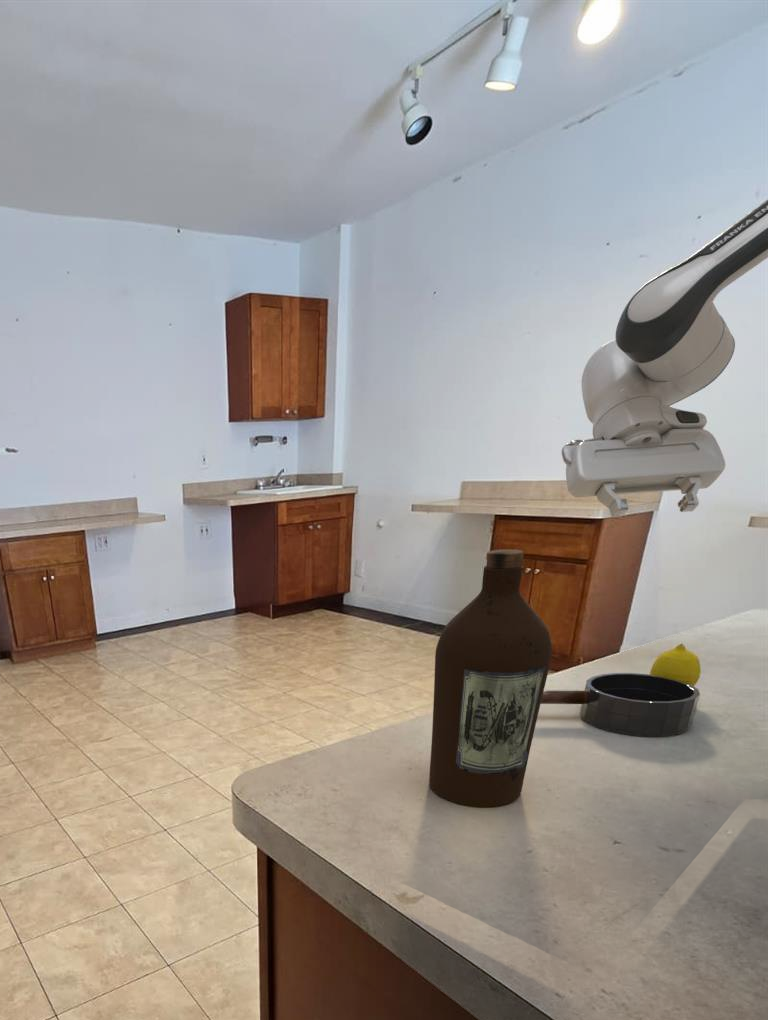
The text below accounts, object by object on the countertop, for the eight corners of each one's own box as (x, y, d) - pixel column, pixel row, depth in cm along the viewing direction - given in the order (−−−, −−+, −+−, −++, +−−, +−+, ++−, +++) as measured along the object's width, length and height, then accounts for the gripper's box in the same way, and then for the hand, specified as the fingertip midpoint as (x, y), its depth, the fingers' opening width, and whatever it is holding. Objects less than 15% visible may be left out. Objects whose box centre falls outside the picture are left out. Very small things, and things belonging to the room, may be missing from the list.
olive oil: (414, 767, 76) (433, 548, 65) (507, 765, 75) (542, 541, 64) (436, 811, 66) (462, 562, 56) (543, 810, 65) (591, 555, 54)
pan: (666, 704, 88) (674, 672, 86) (708, 738, 77) (719, 703, 76) (568, 703, 91) (574, 672, 89) (596, 736, 80) (603, 702, 78)
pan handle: (586, 701, 85) (589, 688, 85) (591, 706, 84) (593, 693, 83) (499, 700, 88) (501, 688, 87) (502, 705, 86) (504, 692, 86)
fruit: (670, 708, 87) (685, 651, 83) (634, 696, 91) (647, 642, 88) (702, 702, 88) (718, 645, 84) (664, 690, 93) (678, 636, 89)
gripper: (569, 424, 93) (590, 500, 88) (717, 413, 91) (746, 489, 87) (550, 458, 99) (568, 531, 94) (688, 448, 97) (714, 521, 93)
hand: (655, 511), depth 90 cm, fingers open, 8 cm apart
